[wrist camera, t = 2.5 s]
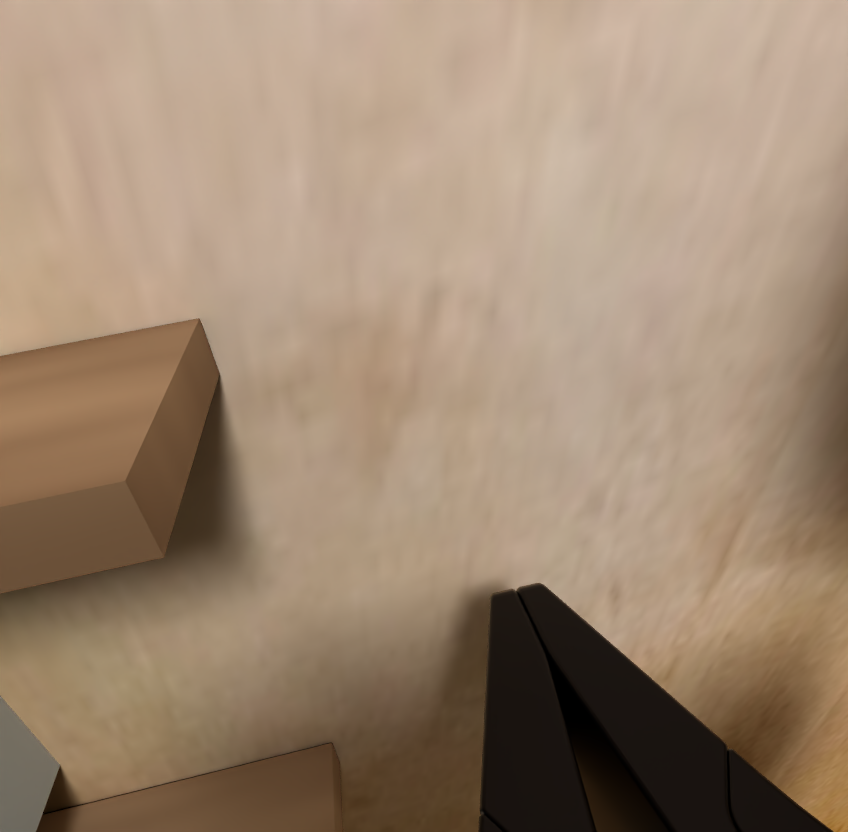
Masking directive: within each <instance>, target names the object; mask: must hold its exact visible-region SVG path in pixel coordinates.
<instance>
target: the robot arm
mask: <svg viewBox="0 0 848 832" xmlns="http://www.w3.org/2000/svg"><path fill="white" fill-rule="evenodd" d="M480 814H481V815H480V817H479V830H478V832H833V831H832V830H831V829H829V828H828V827H827V826H825V825H824V824H823V823H822V822H820V821H819V820H818V819H816V818H815V817H814V816H812V815H811V814H810V813H808V812H807V811H806V810H804V809H803V808H802V807H801V806H799V805H798V804H797V803H796V802H794V801H793V800H792V799H791V798H790V797H788V796H787V795H786V794H785V793H784V792H782V791H781V790H780V789H779V788H778V787H776V786H775V785H774V784H773V783H771V782H770V781H769V780H768V779H767V778H765V777H764V776H763V775H762V774H761V773H759V772H758V771H757V770H756V769H755V768H754V767H753V766H751V765H750V764H749V763H748V762H747V761H746V760H745V759H743V758H742V757H741V756H740V755H739V754H738V753H737V752H736V751H734V750H733V749H729V750H728V747H727V744H726V743H725V742H724V741H723V740H721V739H720V738H719V737H718V736H717V735H716V734H714V733H713V732H712V731H711V730H710V729H709V728H708V727H706V726H705V725H704V724H703V723H702V722H701V721H700V720H698V719H697V718H696V717H695V716H694V715H693V714H692V713H690V712H689V711H688V710H687V709H686V708H685V707H683V706H682V705H681V704H680V703H679V702H678V701H677V700H675V699H674V698H673V697H672V696H671V695H670V694H669V693H667V692H666V691H665V690H664V689H663V688H662V687H661V686H659V685H658V684H657V683H656V682H655V681H654V680H652V679H651V678H650V677H649V676H648V675H647V674H646V673H644V672H643V671H642V670H641V669H640V668H639V667H638V666H636V665H635V664H634V663H633V662H632V661H631V660H630V659H628V658H627V657H626V656H625V655H624V654H623V653H621V652H620V651H619V650H618V649H617V648H616V647H615V646H613V645H612V644H611V643H610V642H609V641H608V640H607V639H605V638H604V637H603V636H602V635H601V634H600V633H599V632H597V631H596V630H595V629H594V628H593V627H592V626H590V625H589V624H588V623H587V622H586V621H585V620H584V619H582V618H581V617H580V616H579V615H578V614H577V613H576V612H574V611H573V610H572V609H571V608H570V607H569V606H567V605H566V604H565V603H564V602H563V601H562V600H561V599H559V598H558V597H557V596H556V595H555V594H554V593H553V592H551V591H550V590H549V589H548V588H547V587H546V586H544V585H543V584H541V583H535V584H531V585H526V586H522V587H519V588H518V589H517V591H515V590H513V589H509V590H505V591H501V592H497V593H493V594H492V595H491V597H490V610H489V630H488V651H487V672H486V692H485V713H484V733H483V754H482V775H481V795H480Z"/></svg>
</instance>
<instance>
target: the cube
mask: <svg viewBox="0 0 848 832" xmlns="http://www.w3.org/2000/svg"><path fill="white" fill-rule="evenodd" d="M59 767H60V764H59V763H58V762H57V761H56V760H55V759H54V757H53V756H52V755H51V754H50V753H49V752H48V751H47V749H46V748H45V747H44V746H43V745H42V744H41V742H40V741H39V740H38V739H37V738H36V737H35V735H34V734H33V733H32V732H31V731H30V730H29V728H28V727H27V726H26V725H25V724H24V723H23V721H22V720H21V719H20V718H19V717H18V716H17V714H16V713H15V712H14V711H13V710H12V709H11V708H10V706H9V705H8V704H7V703H6V702H5V701H4V699H3V698H2V697H1V696H0V832H36V830H37V828H38V825H39V822H40V819H41V817H42V814H43V811H44V808H45V806H46V803H47V800H48V797H49V795H50V792H51V789H52V786H53V784H54V781H55V778H56V775H57V773H58V770H59Z"/></svg>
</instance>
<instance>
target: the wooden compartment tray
mask: <svg viewBox="0 0 848 832" xmlns="http://www.w3.org/2000/svg"><path fill="white" fill-rule="evenodd" d="M218 378H219V371H218V369H217V366H216V363H215V360H214V357H213V355H212V352H211V349H210V346H209V344H208V341H207V338H206V335H205V332H204V330H203V327H202V324H201V321H200V319H194V320H188V321H183V322H178V323H173V324H167V325H162V326H157V327H152V328H146V329H141V330H136V331H131V332H125V333H120V334H115V335H109V336H104V337H99V338H94V339H88V340H83V341H78V342H73V343H67V344H62V345H57V346H52V347H46V348H41V349H36V350H31V351H25V352H20V353H15V354H10V355H4V356H0V593H5V592H9V591H14V590H18V589H23V588H27V587H32V586H37V585H41V584H46V583H50V582H55V581H59V580H64V579H68V578H73V577H77V576H82V575H87V574H91V573H96V572H100V571H105V570H109V569H114V568H118V567H123V566H127V565H132V564H136V563H141V562H146V561H150V560H155V559H159V558H164V556H165V553H166V550H167V546H168V543H169V540H170V536H171V533H172V530H173V526H174V523H175V520H176V516H177V513H178V510H179V507H180V503H181V500H182V497H183V493H184V490H185V487H186V483H187V480H188V477H189V473H190V470H191V467H192V464H193V460H194V457H195V454H196V450H197V447H198V444H199V440H200V437H201V434H202V430H203V427H204V424H205V421H206V417H207V414H208V411H209V407H210V404H211V401H212V397H213V394H214V391H215V387H216V384H217V381H218ZM36 832H343V821H342V799H341V777H340V762H339V760H338V757H337V755H336V752H335V750H334V747H333V745H332V743H329V744H325V745H321V746H317V747H313V748H309V749H305V750H301V751H297V752H293V753H289V754H285V755H281V756H277V757H273V758H269V759H265V760H261V761H257V762H253V763H249V764H245V765H241V766H237V767H233V768H229V769H225V770H221V771H217V772H213V773H209V774H205V775H201V776H197V777H193V778H189V779H185V780H181V781H177V782H173V783H169V784H165V785H161V786H157V787H153V788H149V789H145V790H141V791H137V792H133V793H129V794H125V795H121V796H117V797H113V798H109V799H105V800H101V801H97V802H93V803H89V804H85V805H81V806H77V807H73V808H69V809H65V810H61V811H57V812H53V813H49V814H45V815H42V817H41V819H40V822H39V825H38V828H37V830H36Z"/></svg>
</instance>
